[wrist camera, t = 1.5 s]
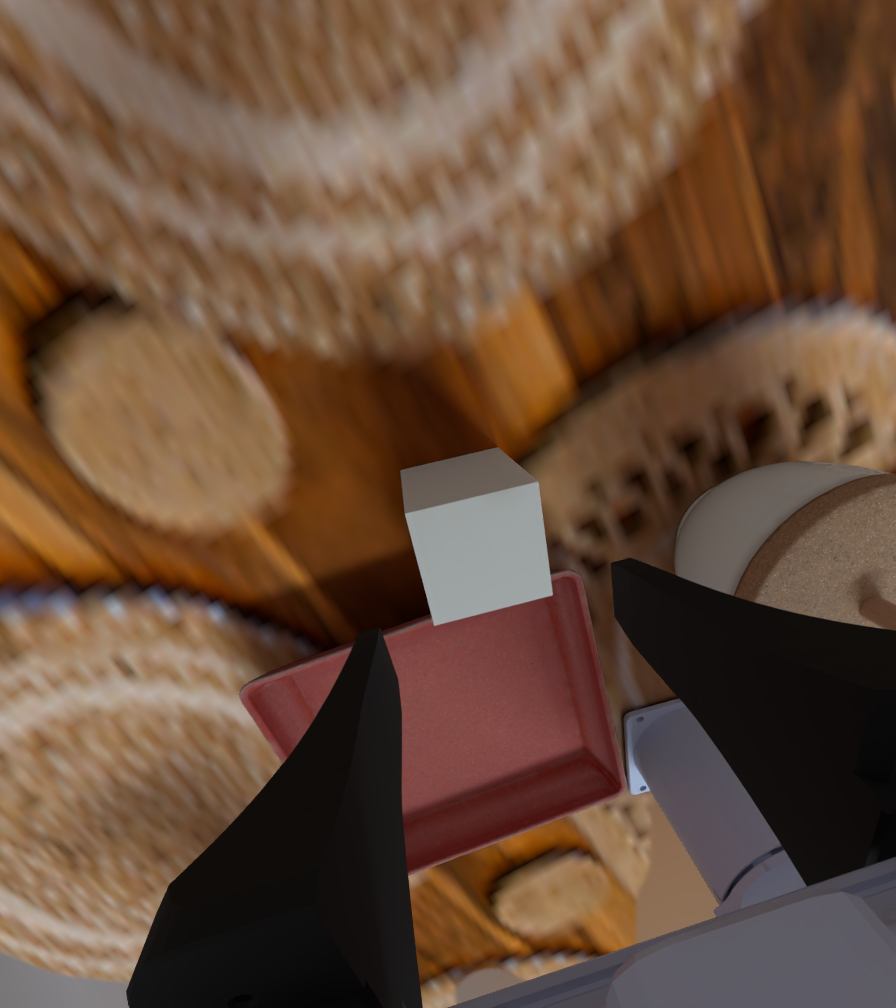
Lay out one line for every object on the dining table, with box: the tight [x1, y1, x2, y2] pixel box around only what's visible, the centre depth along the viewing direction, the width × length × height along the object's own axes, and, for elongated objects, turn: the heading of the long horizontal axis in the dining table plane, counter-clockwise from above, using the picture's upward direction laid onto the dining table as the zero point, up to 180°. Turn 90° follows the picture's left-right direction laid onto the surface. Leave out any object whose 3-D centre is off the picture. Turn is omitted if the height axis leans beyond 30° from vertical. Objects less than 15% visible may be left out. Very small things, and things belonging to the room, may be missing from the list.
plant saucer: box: [239, 569, 627, 876], centre depth 25 cm, size 18×18×3 cm
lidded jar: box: [674, 461, 896, 630], centre depth 20 cm, size 11×11×9 cm
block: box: [400, 447, 553, 626], centre depth 19 cm, size 5×5×6 cm
